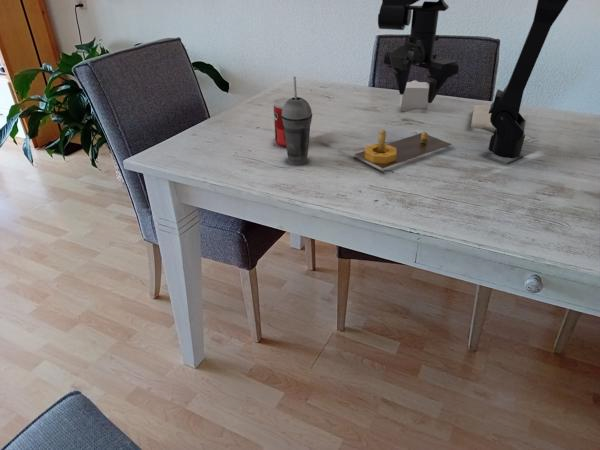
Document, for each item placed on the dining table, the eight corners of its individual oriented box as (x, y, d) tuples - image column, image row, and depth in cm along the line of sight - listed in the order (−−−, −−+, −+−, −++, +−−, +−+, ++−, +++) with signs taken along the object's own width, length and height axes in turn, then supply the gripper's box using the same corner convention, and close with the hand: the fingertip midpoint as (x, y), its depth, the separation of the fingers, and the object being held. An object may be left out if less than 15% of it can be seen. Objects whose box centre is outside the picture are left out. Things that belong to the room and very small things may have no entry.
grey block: (422, 99, 148) (427, 70, 141) (425, 117, 141) (431, 88, 134) (397, 99, 149) (401, 70, 142) (399, 116, 142) (403, 87, 135)
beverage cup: (286, 169, 107) (283, 83, 96) (279, 157, 113) (276, 75, 102) (316, 165, 109) (316, 80, 98) (307, 153, 114) (307, 72, 104)
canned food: (285, 135, 125) (283, 95, 119) (310, 140, 122) (309, 100, 116) (269, 144, 120) (267, 103, 114) (295, 150, 116) (294, 108, 110)
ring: (402, 158, 108) (403, 151, 107) (379, 166, 105) (380, 159, 104) (380, 148, 114) (381, 141, 113) (358, 155, 110) (358, 148, 109)
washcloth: (514, 115, 136) (517, 105, 134) (515, 136, 122) (518, 125, 120) (473, 111, 139) (475, 101, 138) (469, 131, 125) (471, 120, 124)
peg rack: (451, 148, 116) (456, 118, 111) (382, 173, 104) (385, 140, 100) (421, 136, 123) (425, 107, 118) (353, 158, 111) (355, 127, 107)
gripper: (369, 30, 107) (365, 95, 115) (431, 41, 94) (422, 114, 102) (402, 24, 112) (396, 88, 121) (465, 35, 99) (454, 105, 108)
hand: (415, 98), depth 113 cm, fingers open, 9 cm apart
